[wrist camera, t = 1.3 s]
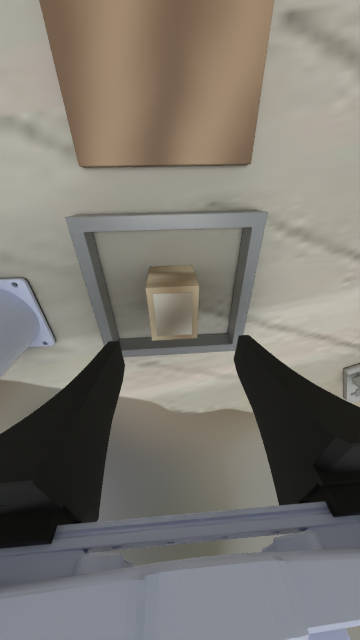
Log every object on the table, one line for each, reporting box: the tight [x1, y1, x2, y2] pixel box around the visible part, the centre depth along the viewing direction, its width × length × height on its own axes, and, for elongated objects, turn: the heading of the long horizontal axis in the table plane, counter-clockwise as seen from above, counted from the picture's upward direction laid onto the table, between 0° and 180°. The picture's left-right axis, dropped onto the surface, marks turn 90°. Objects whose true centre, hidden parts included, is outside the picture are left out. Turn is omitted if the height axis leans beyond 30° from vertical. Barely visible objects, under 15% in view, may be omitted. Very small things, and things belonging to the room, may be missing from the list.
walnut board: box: [39, 0, 274, 168], centre depth 11 cm, size 12×10×1 cm
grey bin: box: [65, 210, 268, 357], centre depth 19 cm, size 15×14×2 cm
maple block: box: [146, 265, 199, 341], centre depth 18 cm, size 4×5×5 cm
